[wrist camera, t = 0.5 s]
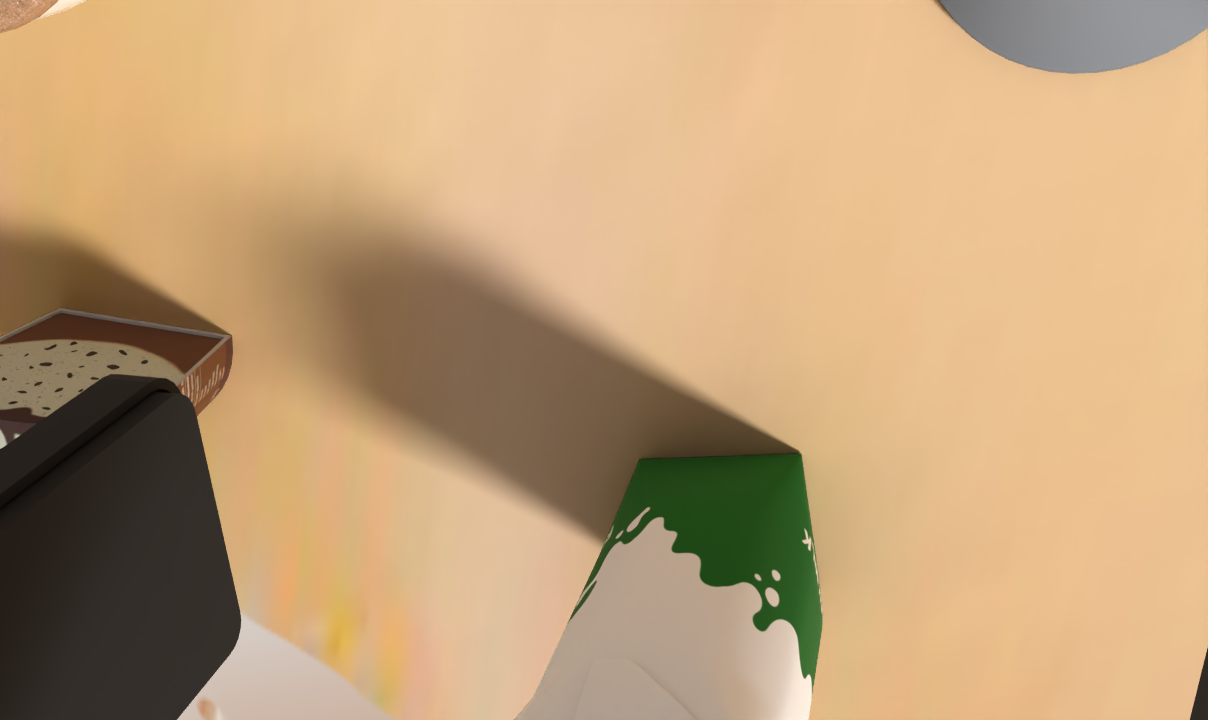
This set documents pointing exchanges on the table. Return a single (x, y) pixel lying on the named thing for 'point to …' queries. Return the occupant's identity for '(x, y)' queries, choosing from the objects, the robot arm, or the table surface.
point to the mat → (1080, 30)
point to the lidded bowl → (30, 11)
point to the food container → (100, 362)
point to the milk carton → (696, 600)
